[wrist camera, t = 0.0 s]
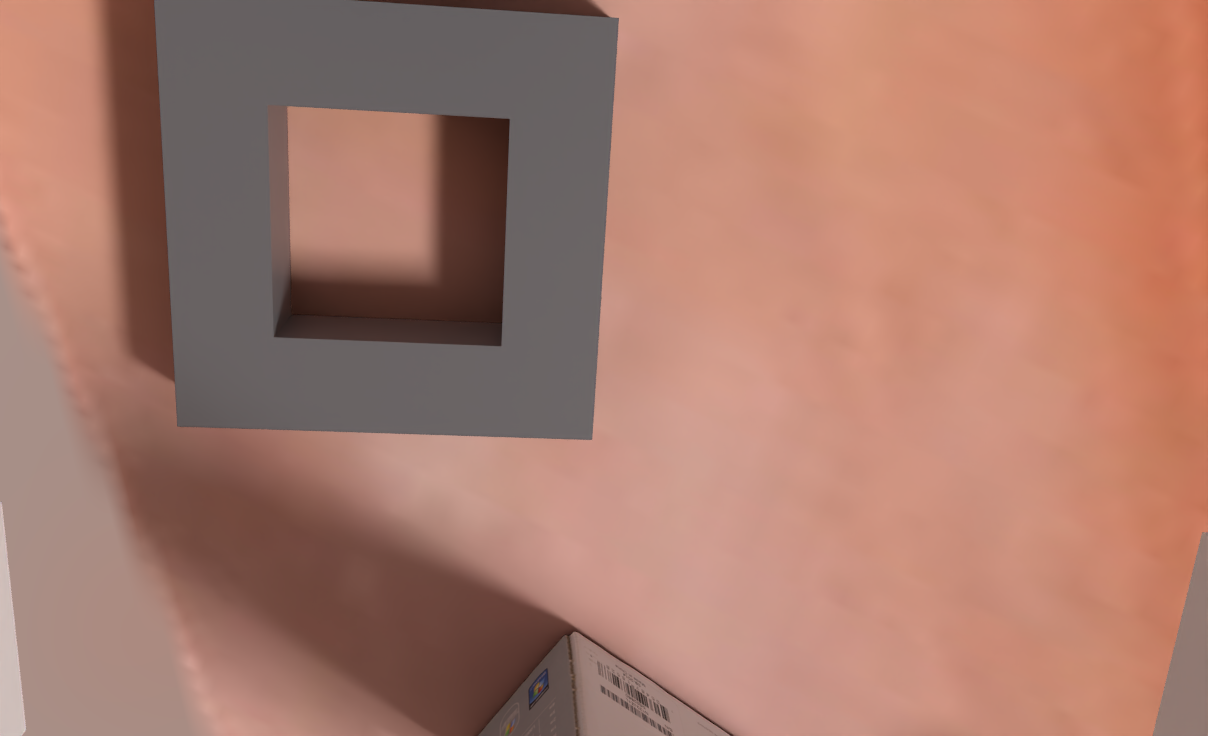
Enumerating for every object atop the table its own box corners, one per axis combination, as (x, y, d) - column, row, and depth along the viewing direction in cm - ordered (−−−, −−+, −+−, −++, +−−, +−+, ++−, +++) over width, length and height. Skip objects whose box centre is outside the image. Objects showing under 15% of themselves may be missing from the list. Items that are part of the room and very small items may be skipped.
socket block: (182, -11, 36) (153, -13, 33) (611, 18, 37) (618, 17, 34) (201, 397, 40) (177, 426, 37) (586, 411, 41) (592, 439, 38)
